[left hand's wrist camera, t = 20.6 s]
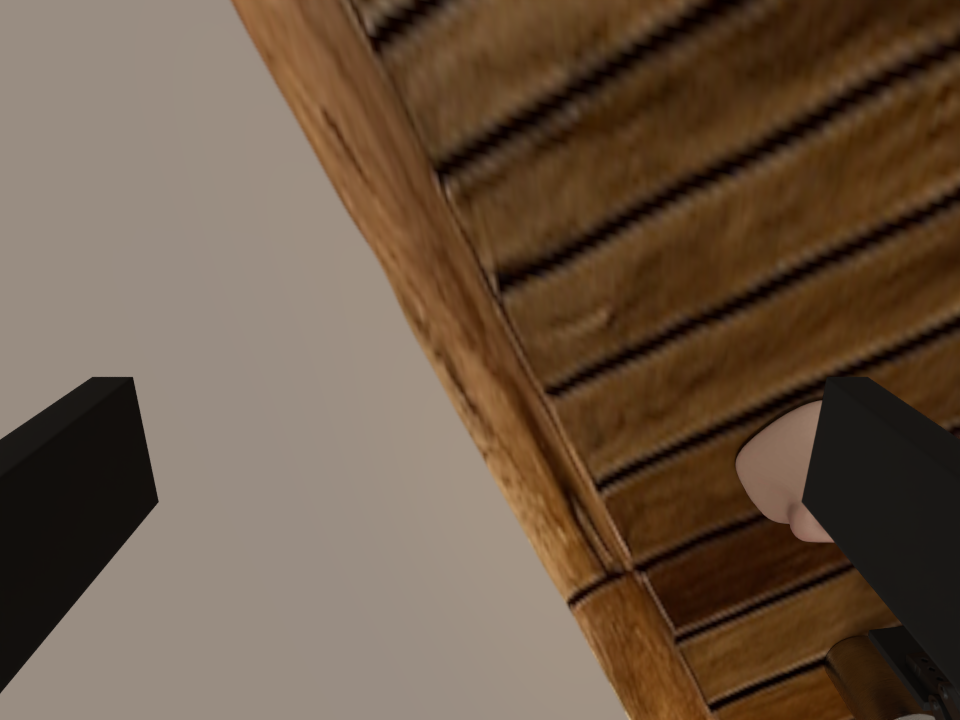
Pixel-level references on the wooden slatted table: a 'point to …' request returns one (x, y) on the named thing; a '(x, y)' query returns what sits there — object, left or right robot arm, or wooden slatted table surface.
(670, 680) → the wooden slatted table surface
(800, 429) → the anatomical model
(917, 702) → the right robot arm
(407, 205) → the wooden slatted table surface
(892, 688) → the tin
